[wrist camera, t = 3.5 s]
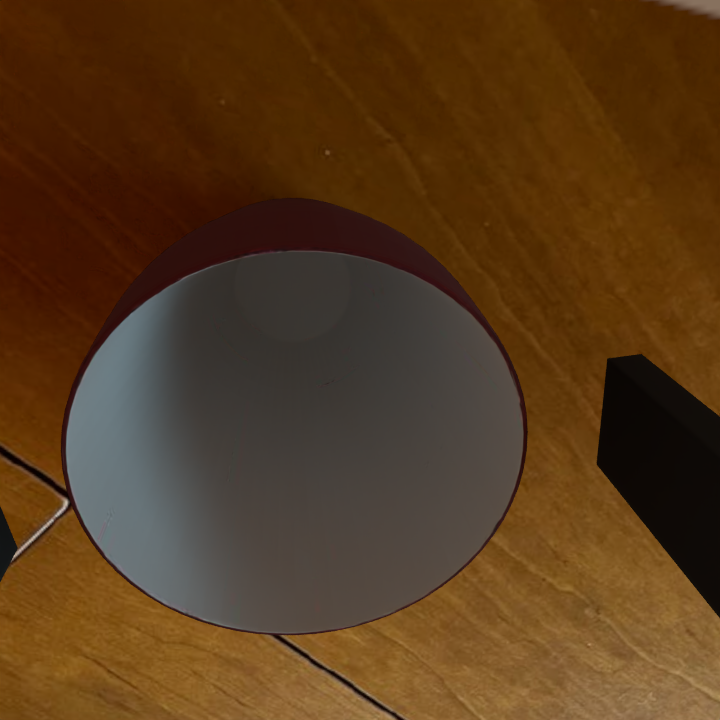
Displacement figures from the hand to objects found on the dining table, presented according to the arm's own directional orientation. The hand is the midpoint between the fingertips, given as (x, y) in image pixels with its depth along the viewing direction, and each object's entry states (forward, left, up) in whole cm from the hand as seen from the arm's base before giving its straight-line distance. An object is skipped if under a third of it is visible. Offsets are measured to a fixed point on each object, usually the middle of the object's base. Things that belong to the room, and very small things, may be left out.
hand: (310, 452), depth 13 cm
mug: (0, 0, -8) cm, 8 cm away
